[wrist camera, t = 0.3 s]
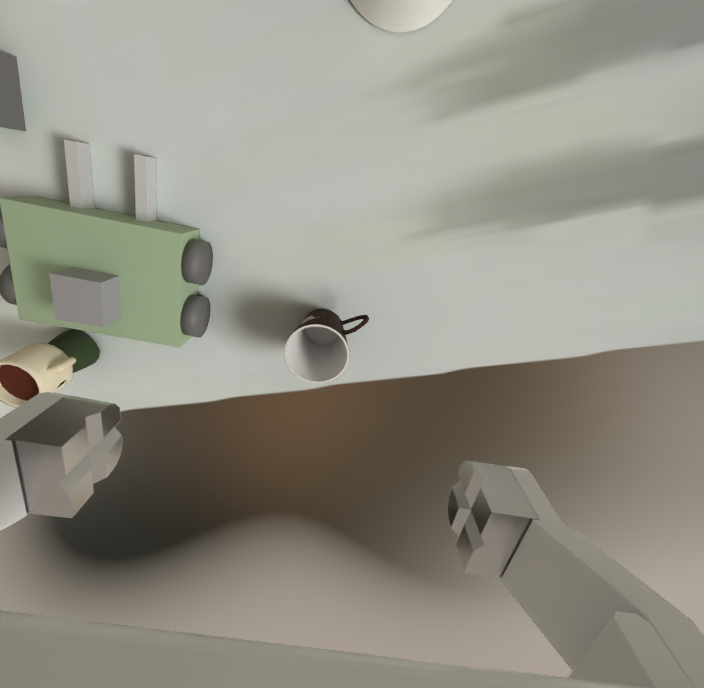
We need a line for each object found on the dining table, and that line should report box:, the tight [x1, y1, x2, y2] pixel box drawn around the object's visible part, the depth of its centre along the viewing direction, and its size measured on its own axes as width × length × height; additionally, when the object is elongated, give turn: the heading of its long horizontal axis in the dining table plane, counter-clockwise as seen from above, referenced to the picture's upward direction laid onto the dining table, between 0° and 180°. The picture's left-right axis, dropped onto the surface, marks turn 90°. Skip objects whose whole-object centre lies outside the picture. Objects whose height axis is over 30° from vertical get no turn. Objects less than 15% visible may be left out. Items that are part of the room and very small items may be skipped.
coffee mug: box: [284, 309, 369, 383], centre depth 53 cm, size 12×9×10 cm
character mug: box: [0, 329, 100, 408], centre depth 53 cm, size 11×7×13 cm, turn 107°
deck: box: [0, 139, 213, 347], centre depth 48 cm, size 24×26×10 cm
